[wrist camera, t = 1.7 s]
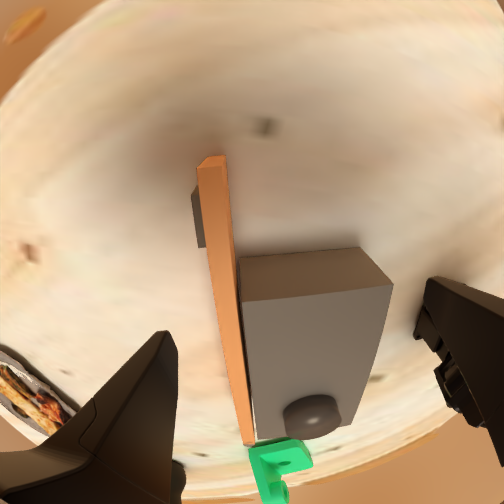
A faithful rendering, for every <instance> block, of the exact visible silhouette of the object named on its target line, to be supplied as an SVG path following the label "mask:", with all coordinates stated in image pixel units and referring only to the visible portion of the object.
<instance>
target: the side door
mask: <svg viewBox="0 0 504 504" xmlns="http://www.w3.org/2000/svg"><path fill="white" fill-rule="evenodd" d="M196 169H197V178H198V185H197V186H196V188H195V190H194V191H193V193H192V194H191V201H192V208H193V215H194V222H195V229H196V236H197V243H198V248H204V247H206V248H207V255H208V262H209V268H210V275H211V281H212V287H213V294H214V300H215V306H216V312H217V317H218V323H219V329H220V334H221V340H222V345H223V351H224V356H225V361H226V366H227V371H228V376H229V381H230V386H231V391H232V396H233V400H234V405H235V410H236V414H237V419H238V423H239V428H240V432H241V436H242V441H243V445H244V446H254V445H255V436H254V424H253V411H252V399H251V391H250V383H249V375H248V367H247V359H246V351H245V342H244V333H243V325H242V316H241V307H240V298H239V289H238V280H237V270H236V261H235V251H234V241H233V231H232V221H231V210H230V200H229V189H228V178H227V167H226V155H219V156H210V157H207V158H206V159H205V160H204V161H203V162H202V163H201V164H200V165H199V166H198V167H197V168H196Z"/></svg>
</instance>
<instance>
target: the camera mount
mask: <svg viewBox="0 0 504 504" xmlns="http://www.w3.org/2000/svg"><path fill="white" fill-rule="evenodd" d="M248 450H249V459H250V462H251V466H252V469H253V473H254V476H255V480H256V483H257V486H258V490H259V493H260V496H261V499H262V502H263V504H288V503H289V492H288V488H287V485H286V483H285V482H284V481H283V480H282V481H281V475H283V474H288V473H292V472H297V471H301V470H305V469H309V468H312V467H313V462H312V458H311V457H310V455H309V452H308V449H307V448H306V446H305V445H304V443H303V442H302V441H301V442H300V440H296V439H291V440H287V441H283V442H279V443H274V444H270V445H265V446H260V447H255V448H250V449H248Z"/></svg>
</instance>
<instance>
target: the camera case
mask: <svg viewBox="0 0 504 504" xmlns="http://www.w3.org/2000/svg"><path fill="white" fill-rule="evenodd" d="M239 261H240V281H241V300H242V311H243V320H244V329H245V338H246V347H247V356H248V364H249V373H250V381H251V390H252V398H253V406H254V414H255V422H256V430H257V438H258V440H259V439H270V438H279V437H287V436H288V437H289V438H292V439H296V440H309V439H315V438H318V437H322V436H324V435H326V434H329V433H330V432H332V431H334V430H335V429H336V428H338V427H342V426H347V425H351V423H352V421H353V418H354V416H355V413H356V411H357V408H358V406H359V403H360V400H361V398H362V395H363V392H364V389H365V387H366V384H367V381H368V378H369V375H370V372H371V369H372V366H373V363H374V359H375V356H376V353H377V349H378V346H379V342H380V339H381V335H382V332H383V328H384V324H385V320H386V316H387V312H388V308H389V303H390V299H391V294H392V289H393V283H392V282H391V280H390V279H389V278H388V277H387V276H386V275H385V274H384V273H383V271H382V270H381V269H380V268H379V267H378V266H377V265H376V264H375V263H374V262H373V261H372V259H371V258H370V257H369V256H368V255H367V254H366V253H365V252H364V251H363V250H362V249H361V248H360V247H358V248H347V249H336V250H325V251H314V252H303V253H291V254H280V255H269V256H257V257H246V258H239Z"/></svg>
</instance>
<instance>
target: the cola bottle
mask: <svg viewBox="0 0 504 504" xmlns="http://www.w3.org/2000/svg"><path fill="white" fill-rule="evenodd" d="M185 485H186V474H185V471H184V469H183V467H182V466H181V465H180V464H178V463H176V462H174V461H172V466H171V482H170V502H169V504H182V503H181V493H182V491H183V489H184V487H185Z"/></svg>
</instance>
